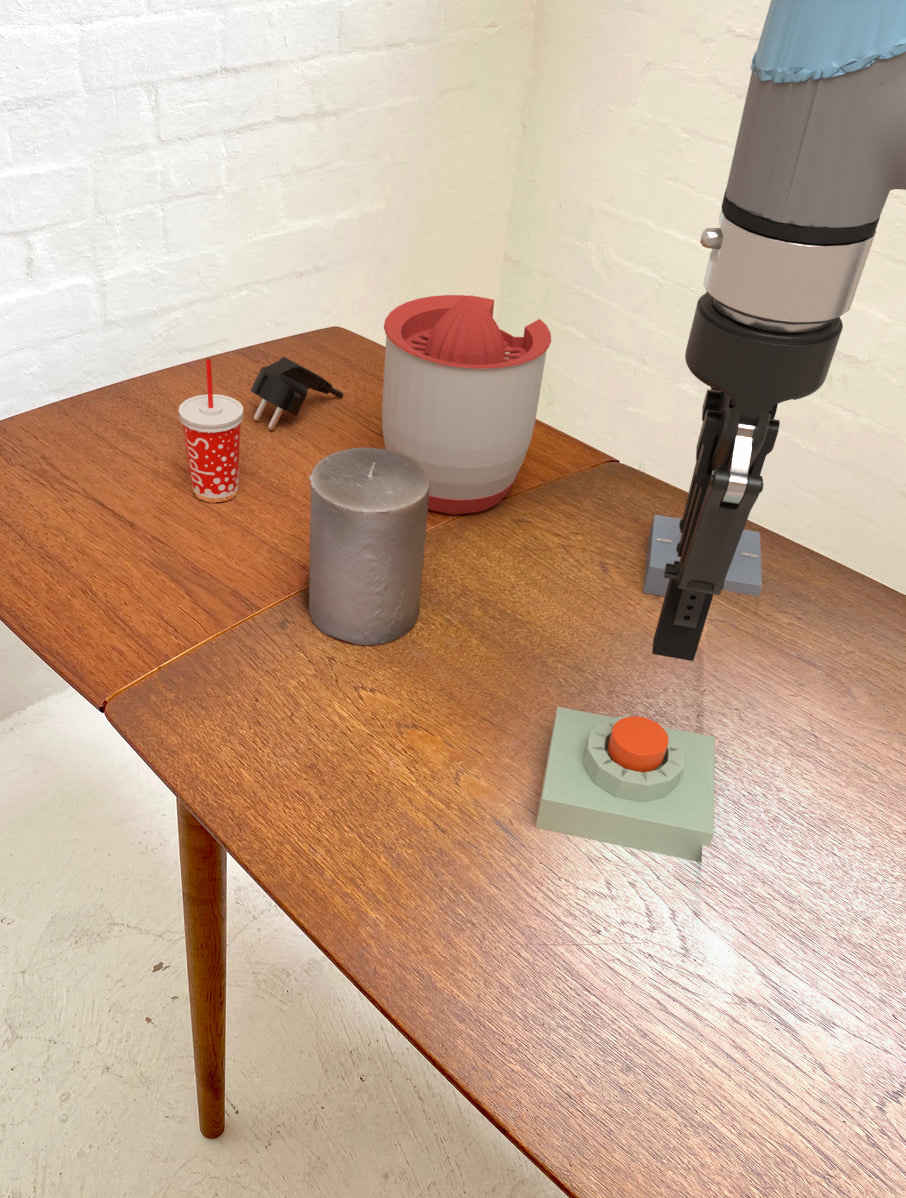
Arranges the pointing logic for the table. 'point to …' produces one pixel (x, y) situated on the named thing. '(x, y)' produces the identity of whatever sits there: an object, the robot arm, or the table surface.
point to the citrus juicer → (461, 397)
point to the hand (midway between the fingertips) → (673, 650)
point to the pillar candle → (367, 544)
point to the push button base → (628, 789)
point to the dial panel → (663, 550)
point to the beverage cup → (212, 441)
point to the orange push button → (638, 744)
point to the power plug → (287, 388)
